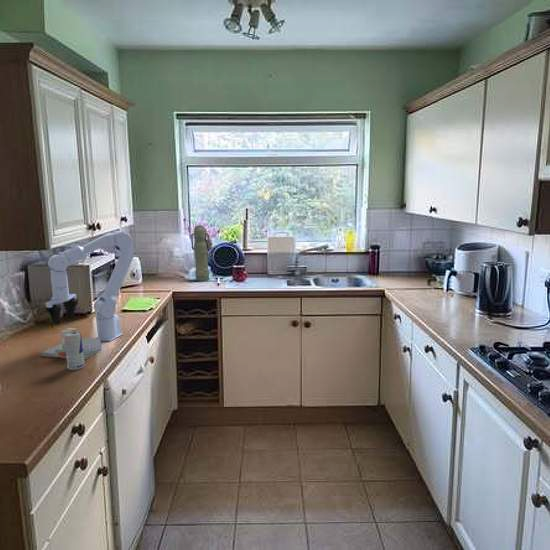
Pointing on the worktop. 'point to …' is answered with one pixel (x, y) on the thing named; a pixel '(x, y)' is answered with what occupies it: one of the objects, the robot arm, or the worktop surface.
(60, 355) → the stepped stand
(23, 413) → the worktop surface
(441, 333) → the worktop surface
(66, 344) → the energy drink
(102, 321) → the robot arm
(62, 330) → the column block
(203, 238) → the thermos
